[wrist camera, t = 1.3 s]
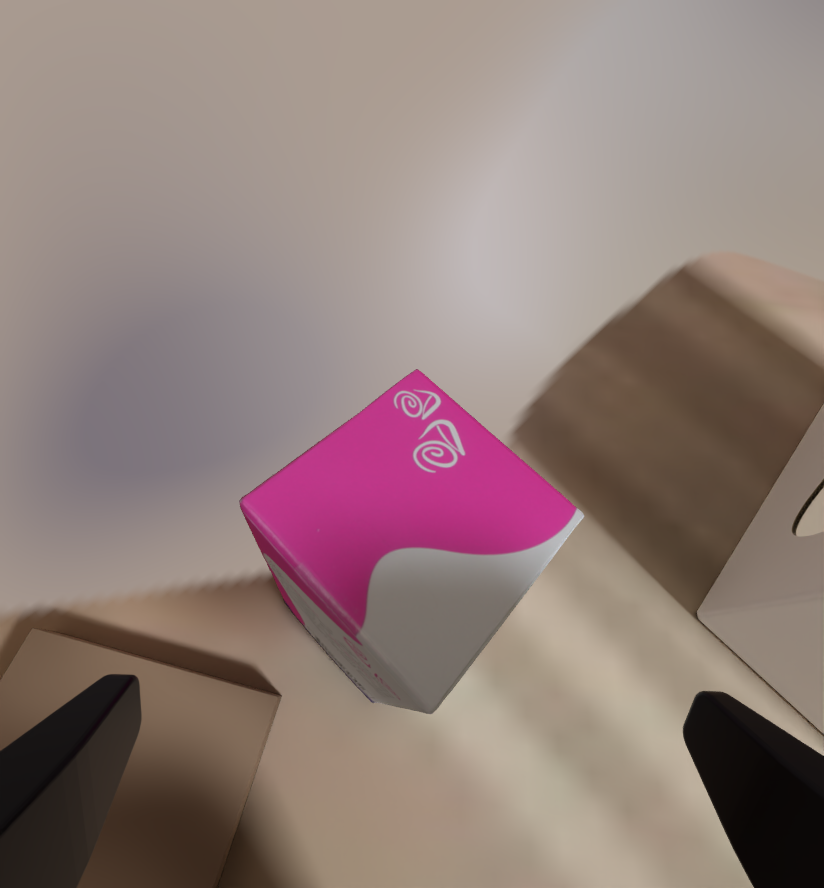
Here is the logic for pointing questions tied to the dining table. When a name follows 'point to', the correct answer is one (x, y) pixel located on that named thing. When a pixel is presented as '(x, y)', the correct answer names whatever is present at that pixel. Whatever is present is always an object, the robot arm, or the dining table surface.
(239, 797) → the walnut riser
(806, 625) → the gable box
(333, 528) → the supplement box
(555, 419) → the dining table surface
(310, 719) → the dining table surface
